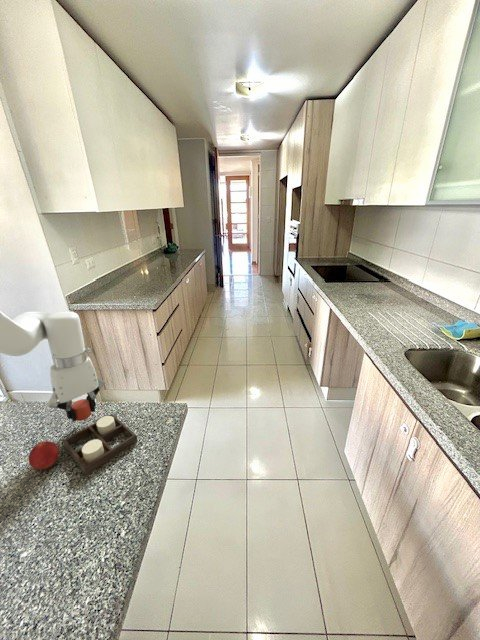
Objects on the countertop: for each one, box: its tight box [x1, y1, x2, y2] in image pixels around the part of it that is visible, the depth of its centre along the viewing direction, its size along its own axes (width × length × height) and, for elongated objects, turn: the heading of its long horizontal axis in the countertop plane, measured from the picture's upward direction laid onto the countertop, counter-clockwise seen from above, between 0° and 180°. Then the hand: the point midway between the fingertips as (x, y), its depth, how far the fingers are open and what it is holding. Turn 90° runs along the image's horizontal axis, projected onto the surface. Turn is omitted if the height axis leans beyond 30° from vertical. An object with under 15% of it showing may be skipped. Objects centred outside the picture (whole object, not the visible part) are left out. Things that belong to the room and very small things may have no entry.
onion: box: [28, 440, 60, 470], centre depth 62 cm, size 6×6×8 cm
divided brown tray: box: [62, 413, 138, 477], centre depth 69 cm, size 13×13×3 cm
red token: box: [72, 398, 93, 422], centre depth 74 cm, size 4×4×4 cm
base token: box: [81, 439, 105, 465], centre depth 64 cm, size 4×4×4 cm
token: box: [95, 415, 117, 436], centre depth 72 cm, size 4×4×4 cm
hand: (82, 413), depth 74 cm, fingers closed on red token, 4 cm apart
